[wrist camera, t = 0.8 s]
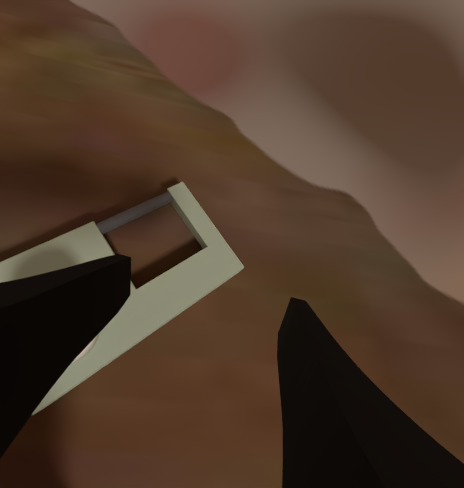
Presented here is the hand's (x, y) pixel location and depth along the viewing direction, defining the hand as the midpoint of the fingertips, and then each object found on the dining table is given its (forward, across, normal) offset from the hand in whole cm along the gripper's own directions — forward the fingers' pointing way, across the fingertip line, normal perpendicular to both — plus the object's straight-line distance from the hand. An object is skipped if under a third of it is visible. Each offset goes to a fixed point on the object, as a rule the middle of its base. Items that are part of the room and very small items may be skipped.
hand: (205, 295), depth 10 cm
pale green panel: (+10, +10, +8) cm, 16 cm away
